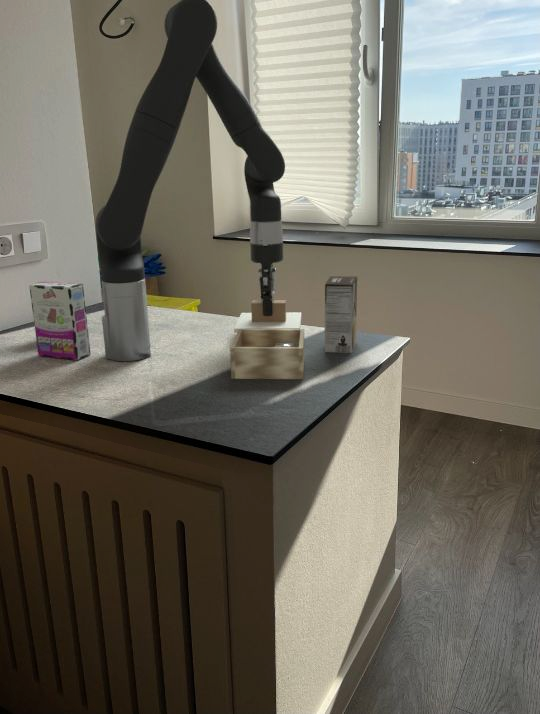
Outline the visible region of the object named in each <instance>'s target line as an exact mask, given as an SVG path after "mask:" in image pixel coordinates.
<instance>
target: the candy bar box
mask: <svg viewBox="0 0 540 714" xmlns="http://www.w3.org/2000/svg"><path fill="white" fill-rule="evenodd" d="M28 287H29V294H30V301H31V308H32V317H33V324H34V325H33V326H34V330H35V332H34V333H35V338H36V339H35V340H36V345H37V346H36V347H37V353H38V357H42V358H43V357H45V358H52V359H61V360H71V361H79V360H82V359H84V358H86V357H89V356H90V355H91V346H90V345H91V344H90V338H89V328H88V326H89V325H88V319H87V310H86V309H87V308H86V301H85V300H86V299H85V292H84V291H85V289H84V283H78V282H77V283H75V282H58V281H57V282H56V281H40V282H36V283H32V284H29V285H28Z"/></svg>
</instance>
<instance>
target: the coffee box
mask: <svg viewBox="0 0 540 714" xmlns="http://www.w3.org/2000/svg"><path fill="white" fill-rule="evenodd" d="M357 300H358V276H340V275H339V276H329V277H328V279H327V281H326V282H325V285H324V352H325V353H345V354H353V352H354V349H355V348H356V343H357V312H358V311H357V305H358V303H357V302H358V301H357Z"/></svg>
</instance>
